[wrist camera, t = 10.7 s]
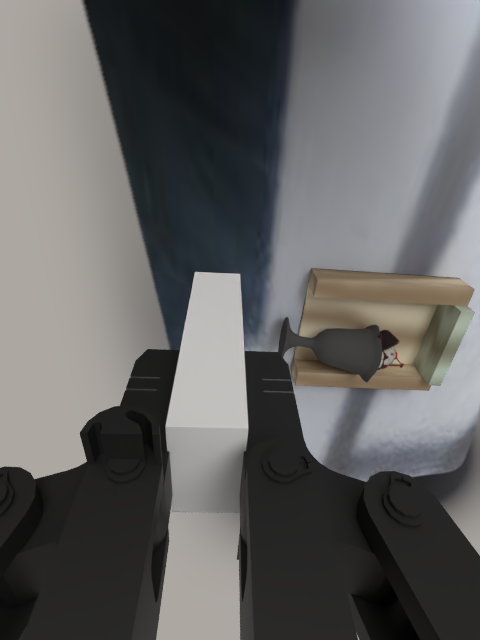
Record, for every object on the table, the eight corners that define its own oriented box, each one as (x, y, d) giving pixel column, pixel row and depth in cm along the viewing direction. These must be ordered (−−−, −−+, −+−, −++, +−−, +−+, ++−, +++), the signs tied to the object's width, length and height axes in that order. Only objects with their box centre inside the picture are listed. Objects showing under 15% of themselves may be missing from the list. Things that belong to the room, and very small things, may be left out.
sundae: (274, 359, 45) (393, 379, 45) (280, 374, 38) (419, 397, 38) (284, 307, 44) (405, 327, 44) (291, 312, 38) (434, 337, 38)
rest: (311, 268, 40) (320, 285, 36) (458, 278, 41) (482, 295, 37) (291, 369, 47) (297, 392, 43) (417, 375, 48) (434, 398, 44)
